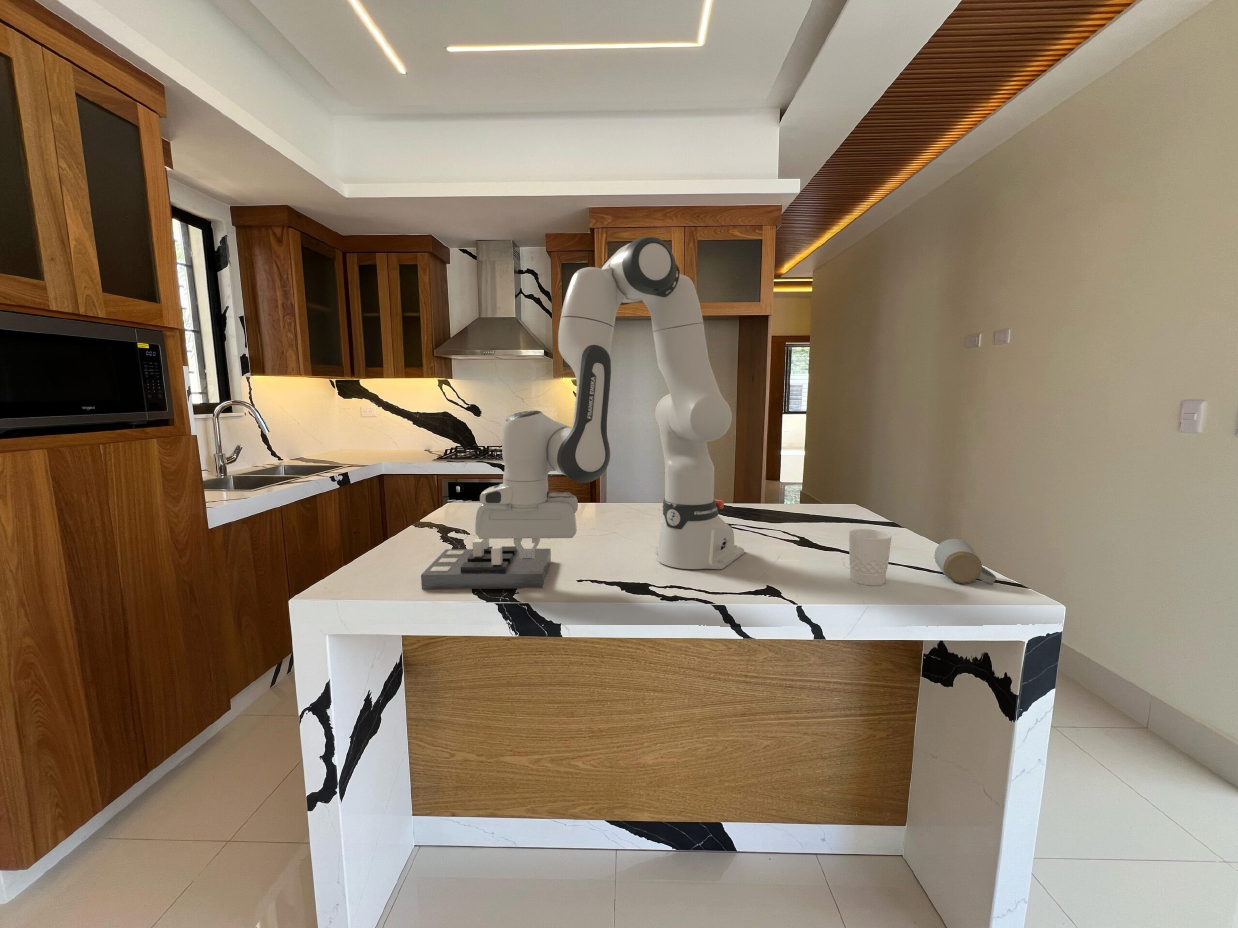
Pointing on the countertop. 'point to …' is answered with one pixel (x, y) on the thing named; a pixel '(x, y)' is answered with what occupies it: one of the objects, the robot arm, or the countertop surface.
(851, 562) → the white cup
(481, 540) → the block
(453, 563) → the breaker panel
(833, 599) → the countertop surface
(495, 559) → the block
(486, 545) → the white short rectangular block
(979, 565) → the ceramic mug
